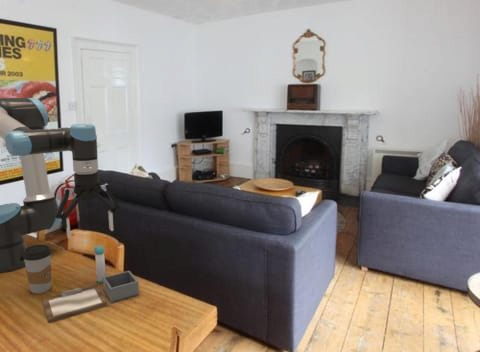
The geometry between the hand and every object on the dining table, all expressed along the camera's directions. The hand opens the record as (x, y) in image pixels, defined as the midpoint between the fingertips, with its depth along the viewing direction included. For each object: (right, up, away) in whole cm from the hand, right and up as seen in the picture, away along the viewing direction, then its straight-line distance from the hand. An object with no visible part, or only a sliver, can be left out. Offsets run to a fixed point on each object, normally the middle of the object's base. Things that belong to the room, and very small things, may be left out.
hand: (90, 233), depth 123 cm
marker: (0, -19, +9) cm, 21 cm away
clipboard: (-3, -22, -6) cm, 23 cm away
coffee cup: (-18, -20, +3) cm, 27 cm away
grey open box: (+10, -21, +2) cm, 23 cm away
